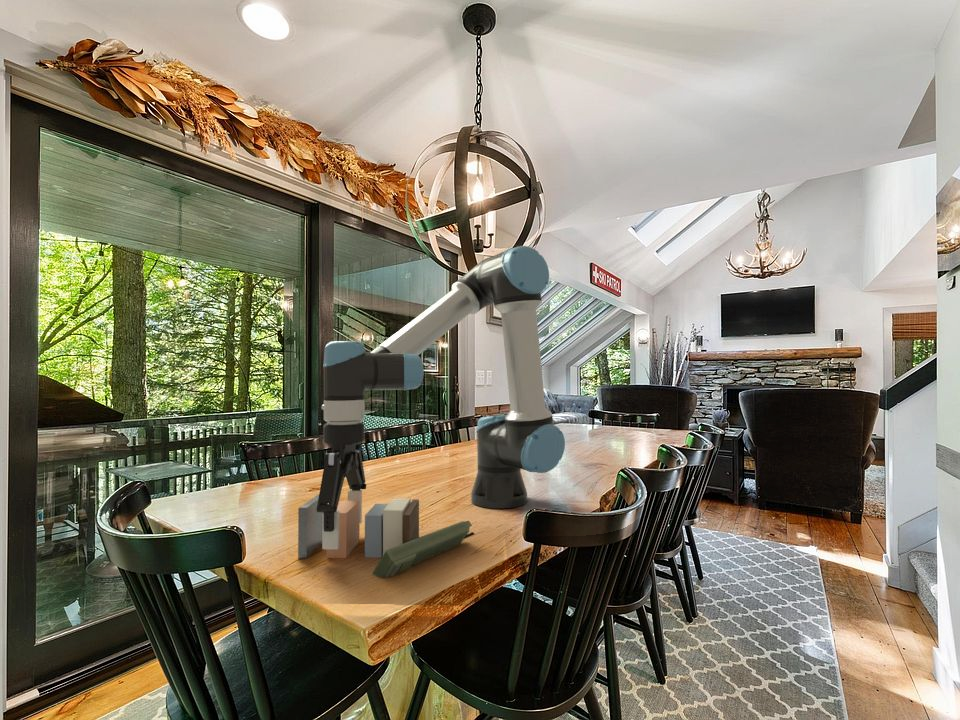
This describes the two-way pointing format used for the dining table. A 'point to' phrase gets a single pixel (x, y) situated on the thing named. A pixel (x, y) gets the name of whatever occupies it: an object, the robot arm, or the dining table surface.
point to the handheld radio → (421, 549)
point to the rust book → (347, 529)
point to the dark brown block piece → (411, 522)
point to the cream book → (394, 522)
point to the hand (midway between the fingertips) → (343, 534)
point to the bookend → (309, 528)
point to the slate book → (374, 531)
